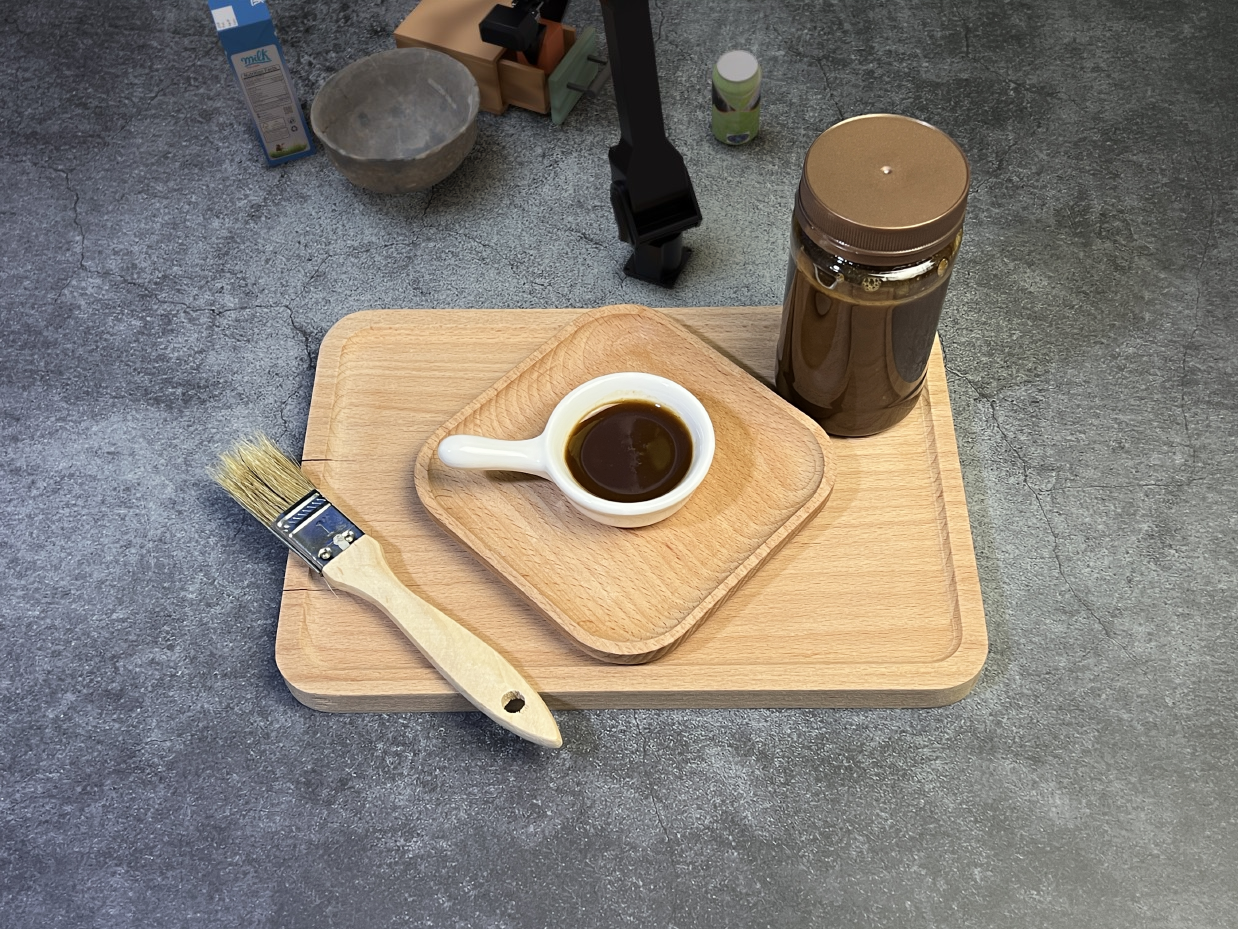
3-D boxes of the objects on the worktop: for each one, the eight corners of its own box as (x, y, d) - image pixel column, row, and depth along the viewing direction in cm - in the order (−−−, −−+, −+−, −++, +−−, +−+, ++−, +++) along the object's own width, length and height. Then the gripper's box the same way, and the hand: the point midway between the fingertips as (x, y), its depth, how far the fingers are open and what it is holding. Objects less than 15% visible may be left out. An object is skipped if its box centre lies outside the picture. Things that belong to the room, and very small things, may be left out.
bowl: (395, 91, 149) (379, 27, 140) (522, 142, 143) (513, 77, 134) (296, 186, 139) (273, 123, 131) (427, 245, 133) (412, 183, 125)
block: (549, 74, 141) (546, 43, 138) (518, 65, 142) (514, 35, 139) (564, 53, 143) (562, 23, 140) (534, 45, 145) (530, 14, 141)
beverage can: (758, 118, 144) (766, 38, 134) (757, 157, 140) (764, 78, 130) (710, 116, 144) (714, 36, 134) (707, 154, 140) (711, 76, 130)
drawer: (627, 80, 147) (626, 36, 141) (590, 133, 142) (587, 90, 136) (510, 47, 152) (504, 3, 146) (469, 97, 146) (462, 54, 140)
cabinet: (543, 58, 151) (538, 3, 144) (500, 115, 145) (492, 60, 138) (451, 33, 155) (441, -23, 148) (405, 87, 149) (393, 32, 142)
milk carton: (316, 153, 142) (271, 17, 126) (269, 167, 141) (217, 31, 125) (299, 106, 148) (253, -31, 131) (253, 119, 146) (201, -17, 130)
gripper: (506, -117, 135) (520, -3, 149) (430, -33, 127) (451, 80, 140) (588, -97, 133) (594, 17, 146) (515, -10, 124) (529, 103, 137)
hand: (541, 52), depth 142 cm, fingers closed on block, 4 cm apart
